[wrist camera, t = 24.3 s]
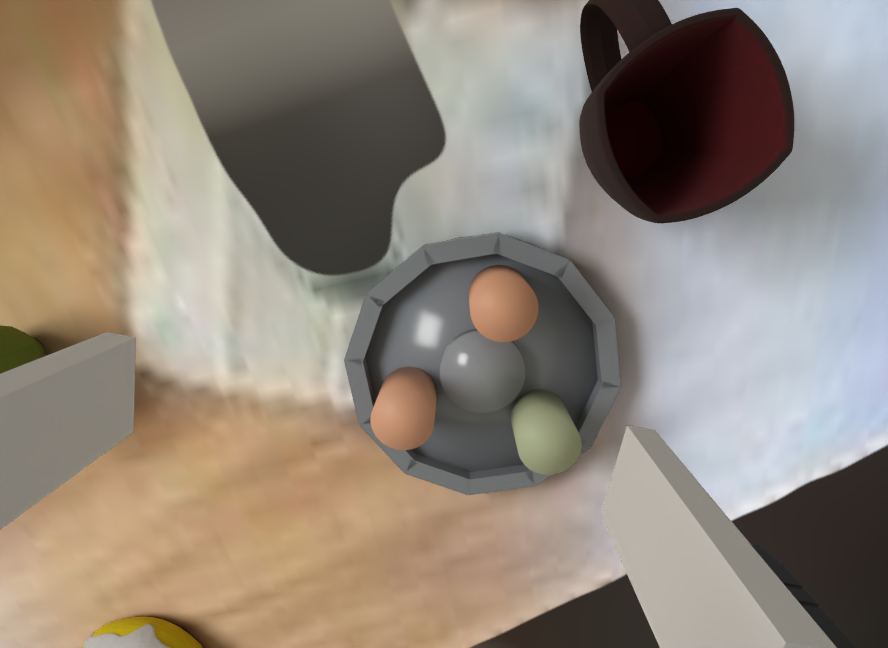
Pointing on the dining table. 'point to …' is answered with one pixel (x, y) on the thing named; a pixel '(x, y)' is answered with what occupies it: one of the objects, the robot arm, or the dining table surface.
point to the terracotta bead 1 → (405, 409)
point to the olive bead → (544, 432)
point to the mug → (681, 108)
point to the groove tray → (483, 358)
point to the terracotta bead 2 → (502, 304)
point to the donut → (141, 635)
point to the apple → (17, 348)
